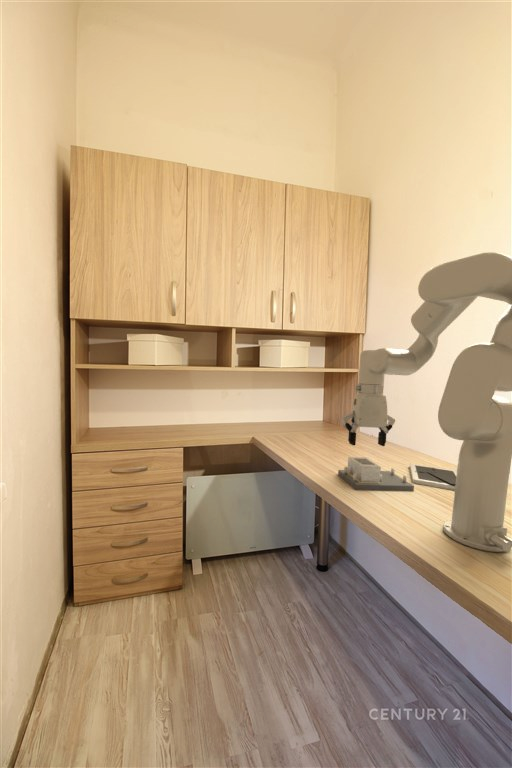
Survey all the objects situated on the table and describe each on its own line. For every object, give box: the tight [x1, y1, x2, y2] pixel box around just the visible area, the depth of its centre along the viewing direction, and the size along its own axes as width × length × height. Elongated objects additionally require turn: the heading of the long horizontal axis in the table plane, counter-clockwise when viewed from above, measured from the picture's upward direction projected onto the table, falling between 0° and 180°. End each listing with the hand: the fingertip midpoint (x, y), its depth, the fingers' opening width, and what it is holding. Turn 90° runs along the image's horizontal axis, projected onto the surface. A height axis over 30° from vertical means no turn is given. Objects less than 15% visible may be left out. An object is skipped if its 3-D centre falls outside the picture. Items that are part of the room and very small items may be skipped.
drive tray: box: [337, 466, 415, 492], centre depth 111 cm, size 14×18×4 cm
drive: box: [347, 456, 382, 483], centre depth 110 cm, size 10×6×5 cm, turn 9°
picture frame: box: [409, 463, 457, 491], centre depth 120 cm, size 16×3×21 cm
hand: (366, 444), depth 109 cm, fingers open, 9 cm apart
